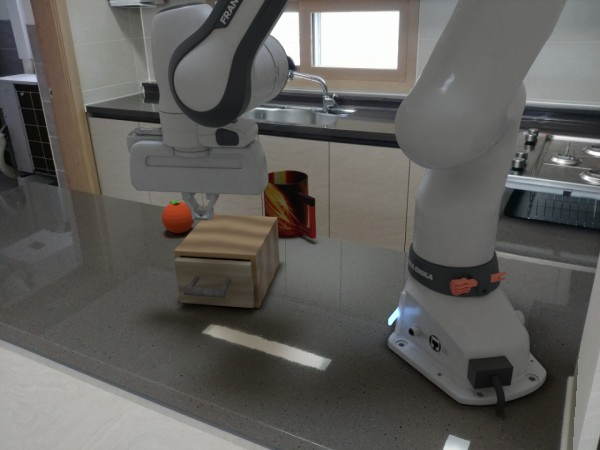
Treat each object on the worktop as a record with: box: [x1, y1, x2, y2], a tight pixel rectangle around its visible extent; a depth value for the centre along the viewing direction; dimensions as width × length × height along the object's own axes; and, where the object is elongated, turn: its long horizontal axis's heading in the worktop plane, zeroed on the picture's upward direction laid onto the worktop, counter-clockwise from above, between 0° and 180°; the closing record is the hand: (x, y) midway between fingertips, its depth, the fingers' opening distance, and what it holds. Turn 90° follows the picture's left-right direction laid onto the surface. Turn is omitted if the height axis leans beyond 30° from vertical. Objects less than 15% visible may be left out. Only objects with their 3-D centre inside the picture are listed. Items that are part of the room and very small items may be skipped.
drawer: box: [174, 256, 255, 309], centre depth 91 cm, size 19×13×8 cm, turn 170°
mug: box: [263, 169, 317, 240], centre depth 115 cm, size 10×14×12 cm
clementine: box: [161, 200, 195, 234], centre depth 118 cm, size 8×7×7 cm
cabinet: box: [173, 213, 281, 309], centre depth 95 cm, size 16×14×10 cm
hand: (203, 218), depth 81 cm, fingers closed
